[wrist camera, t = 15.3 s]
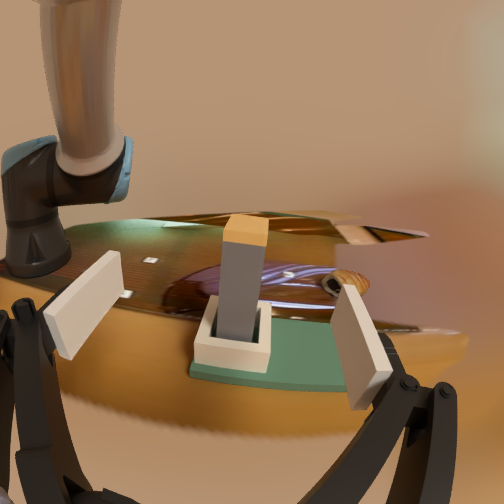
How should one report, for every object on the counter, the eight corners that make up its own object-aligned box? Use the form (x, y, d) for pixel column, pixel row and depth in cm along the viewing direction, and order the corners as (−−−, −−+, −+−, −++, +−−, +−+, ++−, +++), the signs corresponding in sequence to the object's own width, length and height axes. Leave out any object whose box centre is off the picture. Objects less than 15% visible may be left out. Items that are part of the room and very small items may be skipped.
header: (194, 362, 26) (193, 342, 25) (210, 314, 34) (211, 294, 33) (266, 373, 26) (270, 353, 25) (267, 322, 34) (271, 303, 33)
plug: (215, 354, 28) (223, 229, 22) (222, 326, 32) (232, 213, 27) (248, 359, 28) (267, 235, 22) (252, 330, 32) (268, 218, 27)
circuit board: (189, 376, 26) (189, 369, 25) (209, 316, 36) (209, 309, 35) (372, 391, 25) (376, 384, 25) (352, 332, 35) (355, 325, 35)
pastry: (351, 278, 52) (356, 261, 50) (376, 295, 46) (382, 277, 45) (317, 286, 47) (322, 267, 46) (342, 306, 42) (349, 286, 40)
